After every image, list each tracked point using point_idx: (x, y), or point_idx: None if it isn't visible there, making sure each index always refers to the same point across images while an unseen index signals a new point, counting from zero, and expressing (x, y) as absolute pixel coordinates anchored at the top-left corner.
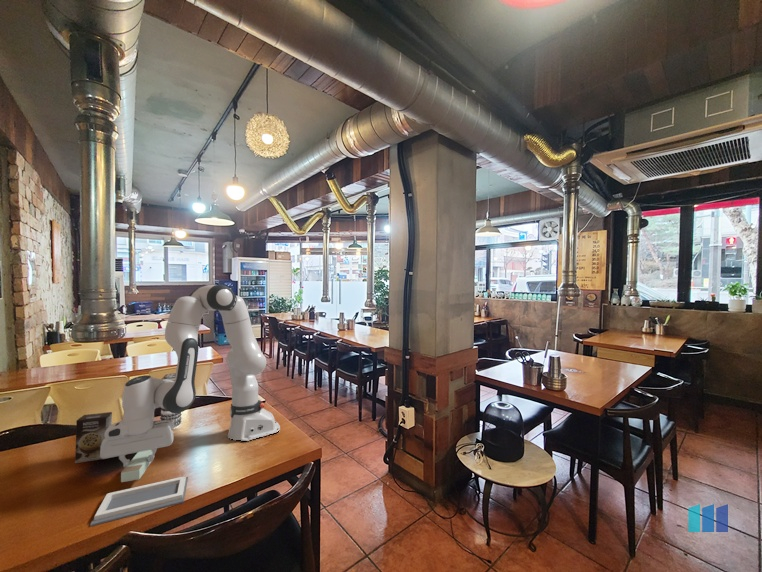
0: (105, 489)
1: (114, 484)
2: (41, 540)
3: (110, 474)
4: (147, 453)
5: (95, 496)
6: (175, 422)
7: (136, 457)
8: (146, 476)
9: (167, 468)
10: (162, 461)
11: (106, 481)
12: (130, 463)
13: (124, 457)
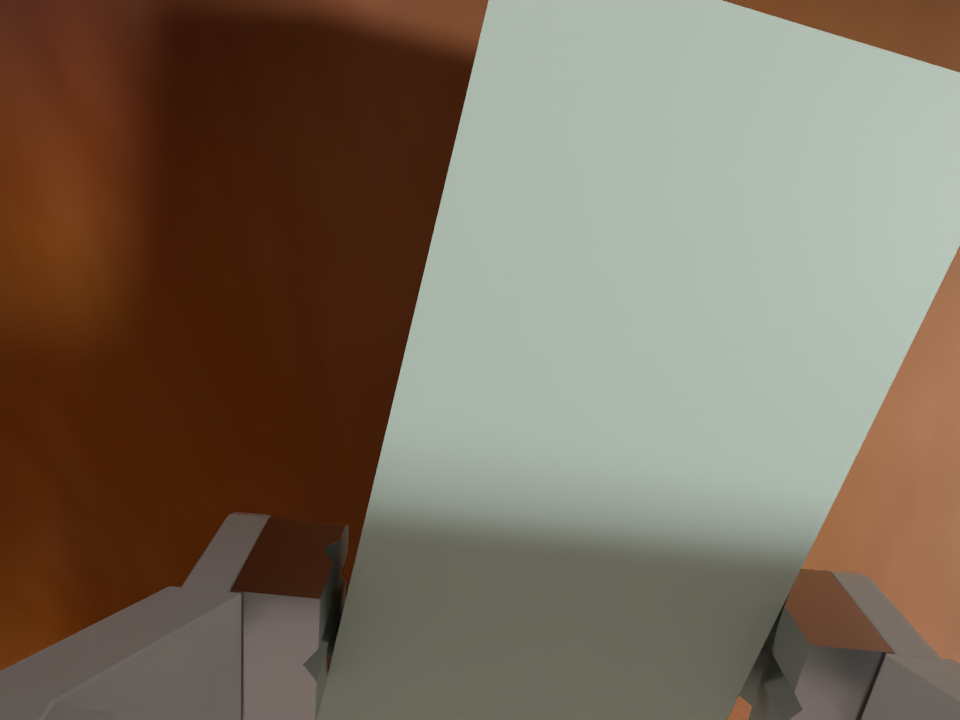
0: (115, 533)
1: (202, 455)
2: None
3: (16, 11)
4: (784, 332)
5: (45, 644)
6: None
7: (480, 425)
8: None
9: (933, 374)
10: (924, 2)
11: (42, 281)
12: (368, 697)
13: (132, 699)
